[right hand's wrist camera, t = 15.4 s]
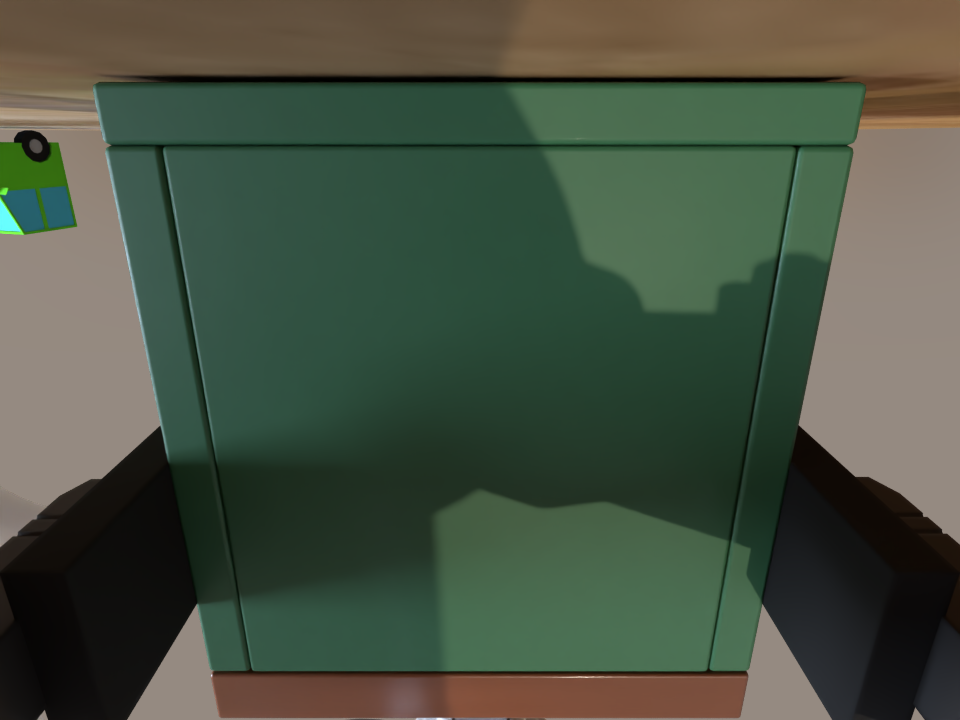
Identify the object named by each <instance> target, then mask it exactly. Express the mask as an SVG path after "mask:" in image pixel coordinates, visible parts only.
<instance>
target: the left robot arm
mask: <svg viewBox="0 0 960 720" xmlns="http://www.w3.org/2000/svg"><path fill="white" fill-rule="evenodd" d="M46 507H47V506H44V505H41V504H37V503H34V502H32V501H29V500H27V499H24V498H22V497H20V496H18V495H16V494H14V493H12V492H10V491H8V490H6V489H5V488H3V487H1V486H0V547H1V546H2V545H3V544H4V543H6V542H7V541H8V540H9V539H10V538H11V537H13V536H17V535H18V531H20V530H21V529H22V528H23V527H24V526H25V525H27V524H28V523H29V522H30V521H31V520H32V519H37V515H38V514H39V513H40V512H42V511H43V510H44V509H45V508H46ZM37 720H44V719H43V716H42V714H41V715H40V716H39V718H38V719H37ZM350 720H378V719H350ZM416 720H546V719H545V718H417V719H416Z"/></svg>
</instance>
